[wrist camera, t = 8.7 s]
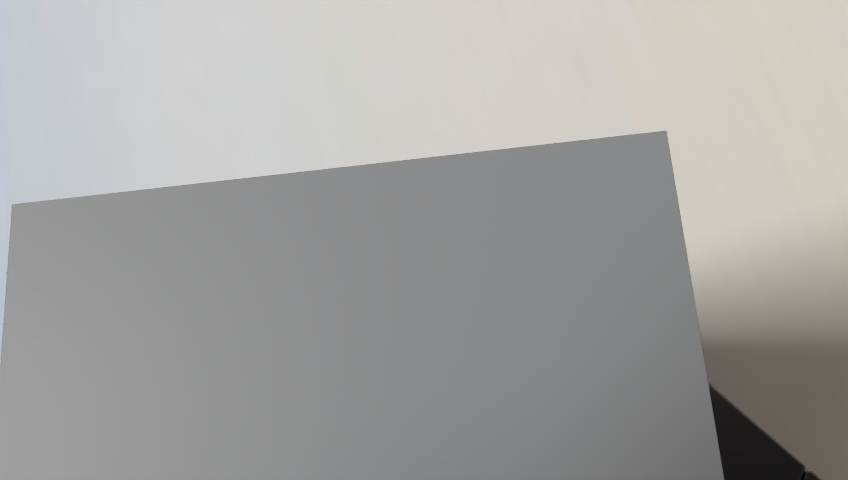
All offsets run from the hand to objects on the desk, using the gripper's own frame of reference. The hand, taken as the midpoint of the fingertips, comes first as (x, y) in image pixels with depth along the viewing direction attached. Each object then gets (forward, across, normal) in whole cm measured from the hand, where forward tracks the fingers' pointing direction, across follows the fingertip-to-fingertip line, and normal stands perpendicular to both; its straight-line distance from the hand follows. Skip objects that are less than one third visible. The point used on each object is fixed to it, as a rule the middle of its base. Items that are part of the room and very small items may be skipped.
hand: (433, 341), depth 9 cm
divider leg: (+4, 0, +6) cm, 7 cm away
